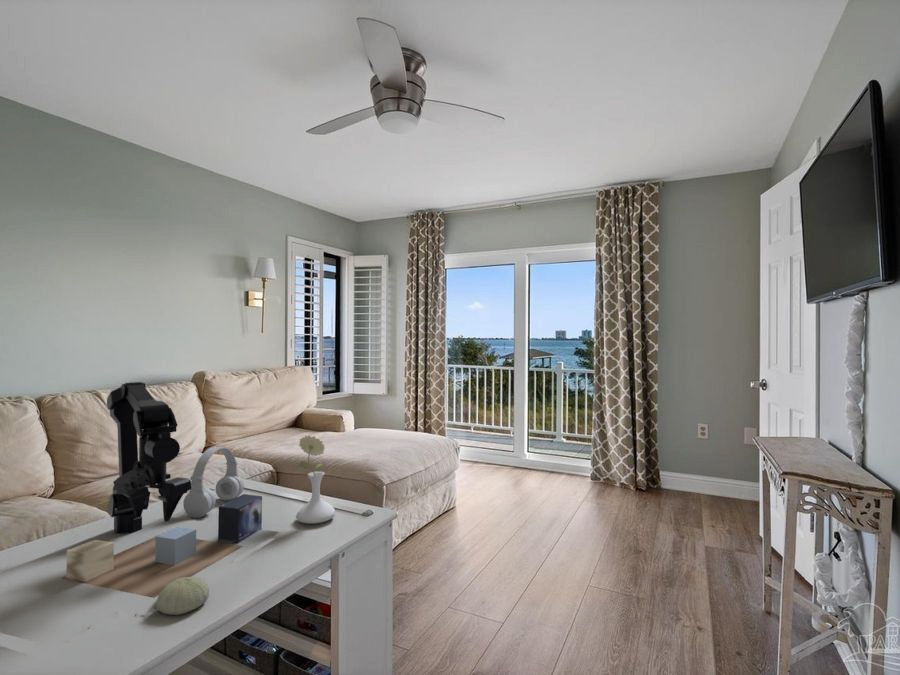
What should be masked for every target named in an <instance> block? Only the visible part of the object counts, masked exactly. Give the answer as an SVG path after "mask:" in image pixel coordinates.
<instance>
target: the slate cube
mask: <svg viewBox="0 0 900 675" xmlns="http://www.w3.org/2000/svg"><path fill="white" fill-rule="evenodd" d="M154 537H155V562H159V563H165V564H170V565H177V564H178V563H180V562H182V561H184V560H186V559H188V558H190V557H192V556H194V555H195V554H196V539H197V529H196V528H188V527H183V526H182V527H181V526H175V527H174V528H172V529H171V528H170V529H169V530H167V531H165V532H162V533H160V534H158V535H156V536H154Z"/></svg>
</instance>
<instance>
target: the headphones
mask: <svg viewBox="0 0 900 675" xmlns="http://www.w3.org/2000/svg"><path fill="white" fill-rule="evenodd" d="M219 451H220V452H221V453H222V454H223V456H224V457H225V460H226V464H225V465H226V471H225V475H224V476H223V477H221V478H220V479H218V481H217V482H216V485H215V493H216V495H217V497H218V498H219V499H221V501H227V502H228V501H231V500H233V499H235V498H237V497H239V496H241V495H242V493H243V492H244V488H245V483H244V480H243V478H242V477H241V476H240V475H239V471H238V465H239V462H238V461H237V460H236V457H235V455H234V453H233V451H232V450H231V449H230V448H228V447H224V446H223V447H222V446H221V447H219V446H214V447H213V446H212V447H209V448H208V449H206V450H205V451H204V452H203V453H202V454H201V456H200V457H199V458H198V460H197V462H196V464H195V466H194V469H193V473H192V475H191V476H190V478H189V480H190V481H191V490H188V491H189V492H187V493H186V495H185V497H184V499H183V509H184V511H185V514H187V515H188V516H189V517H190V518H193V519H199V518H203V517H204V516H206V515H207V514H208V513H210V512H211V511H212V510H213V509H214V507H215V505H216V496H215V494H214V492H213V491H212V490H211V489H210V488H208V487H204V484H203V483H204V481H203V480H204V472H205V470H206V467H207V465H208V463H209V460H210V459H211V458H212V456H213V455H214V454H215V453H217V452H219Z"/></svg>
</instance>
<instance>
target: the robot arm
mask: <svg viewBox="0 0 900 675" xmlns="http://www.w3.org/2000/svg"><path fill="white" fill-rule="evenodd" d="M106 408H107V410H109V416H110V417H111V419H112V420H113V421H114V422H115V423H116V425H117V449H118V450H117V451H118V454H117V455H118V477H116V479H114V481H113V482H112V483H113V485H112V486H113V487H112V494H111V495H110V497H109V499H108V503H107V507H106V508H107V515H109V516H110V517H111V518H113V531H114V532H115V534H119V535H121V534H122V535H123V534H133V533H137V532H139V531H141V530H142V529H143V515H142V514H143V512H144V510H148V508H149V503H150V497H151V491H150V490H149V489H157V490H158V494H159V496H157V498H158V499H159V500H161V501H162V511H163V512H162V513H163V515H162V516H163V519H164V520H163V522H165V523H166V522H169V521H170V520H171V518H172V516H173V513H174V512H175V510H176V508H177V506H178V504H179V502H180V501H181V499H182V498H183V496H184V494H188V491H190V490H191V481H192V480H191V479H190V478H187V477H175V478H172V479H171V473H167V463H170V462H172V461H173V460H174V459H175V458H177V457H178V455H179V453H180V451H181V450H180V449H181V446H180V443H179V442H178V440H177V439H175V438H173V437H172V436H171V433H175V432H177V427H178V422H177V420H176V416H175V413H174V411H173V409H172V408H171V407H170V405H168V403H167V402H164V401H161V400H156V399H155V398H154V397H153V395H152V394H151V393H150V392H149V390H147V388H146V383H145V382H142V381H138V382H137V381H136V382H134V381H133V382H125V383H122V384H121V386H120V387H118V388H116V389H114V390H112V391H110V393H109V395H108V396H107V398H106ZM138 436H139V438H138Z"/></svg>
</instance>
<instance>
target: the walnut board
mask: <svg viewBox="0 0 900 675" xmlns="http://www.w3.org/2000/svg"><path fill="white" fill-rule="evenodd" d="M243 547H244V546H243V545H238V544H234V543H226V542H218V541H213V540H207V539H199V538H196V554H195V555H194V556H192V557H190V558H188V559H186V560H184V561H182V562H180V563H178V564H177V565H170V564H165V563H159V562H155V536H154V537H152V538H149V539H147V540H145V541H143V542H141V543H139V544H136V545H134V546H132V547H129V548H127V549H124V550H122V551H120V552H118V553H116V554H114V569H112V570H110V571H108V572H106V573H104V574H102V575H100V576H97V577H95V578H93V579H91V580H89V581H87V582H84V581H79V580H74V579H69V578H66V576H63V577H61V578H60V579H61V580H64V581H65V580H66V581H70V582H74V583H75V582H76V583H81V584H86V585H90V586H94V587H100V588H104V589H108V590H109V589H110V590H114V591H119V592H124V593H127V594H128V593H129V594H134V595H138V596H143V597H148V598H153V599H155V598H156V597H157V598H158V596H159V594H160V592H161V591H162V590H163V589H164V588H165V587H166V586H167V585H168V584H169V583H171V582H172V581H174V580H176V579H179V578H183V577H194V576H196V574H199V573H200V572H201V571H203V570H205V569H207V568H208V567H211V566H212V565H213V564H216V563H217V562H218V561H221V560H222V559H223V558H225V557H228V556H229V555H232V553H234V552H236V551H238V550H240V549H241V548H243Z"/></svg>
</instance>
